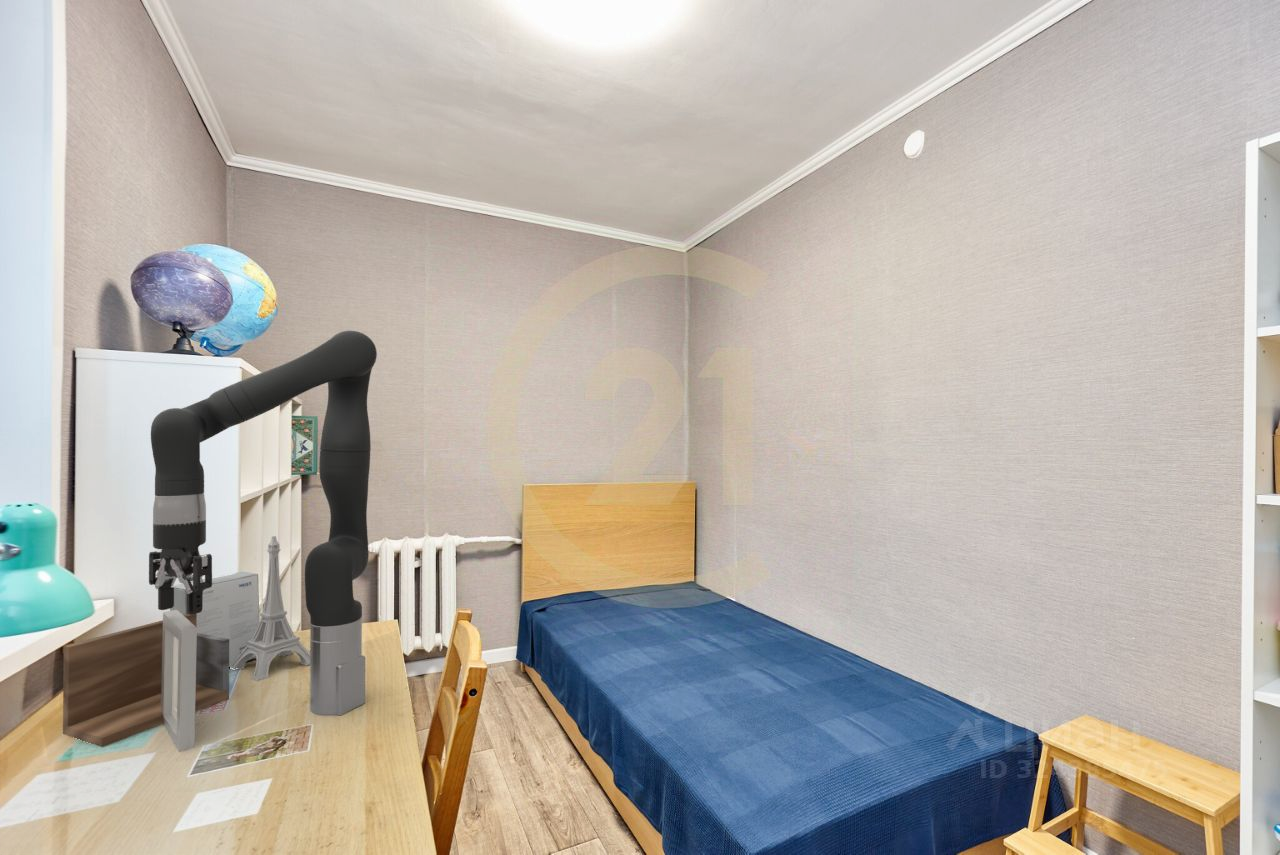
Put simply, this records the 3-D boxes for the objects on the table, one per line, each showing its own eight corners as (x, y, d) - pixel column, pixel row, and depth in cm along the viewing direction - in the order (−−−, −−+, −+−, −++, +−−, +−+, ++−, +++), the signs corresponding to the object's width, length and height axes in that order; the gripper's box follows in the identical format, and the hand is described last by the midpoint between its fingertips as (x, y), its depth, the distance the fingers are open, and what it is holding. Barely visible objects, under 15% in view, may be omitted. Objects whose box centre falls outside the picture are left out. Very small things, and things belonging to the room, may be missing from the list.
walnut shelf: (229, 698, 119) (229, 619, 119) (102, 750, 100) (102, 655, 100) (191, 689, 124) (191, 612, 124) (62, 736, 104) (63, 645, 105)
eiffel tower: (317, 662, 139) (318, 534, 139) (256, 682, 128) (257, 543, 128) (287, 651, 146) (288, 530, 146) (227, 669, 135) (228, 538, 135)
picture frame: (160, 724, 110) (163, 612, 110) (179, 718, 112) (181, 608, 112) (179, 754, 99) (181, 630, 100) (199, 747, 101) (202, 626, 102)
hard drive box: (244, 652, 145) (243, 571, 145) (261, 657, 141) (260, 573, 142) (169, 675, 131) (168, 585, 132) (186, 680, 127) (185, 588, 128)
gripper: (227, 518, 107) (227, 609, 106) (177, 515, 112) (177, 601, 112) (182, 524, 100) (182, 621, 99) (131, 520, 105) (131, 613, 105)
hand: (180, 611), depth 106 cm, fingers open, 7 cm apart
